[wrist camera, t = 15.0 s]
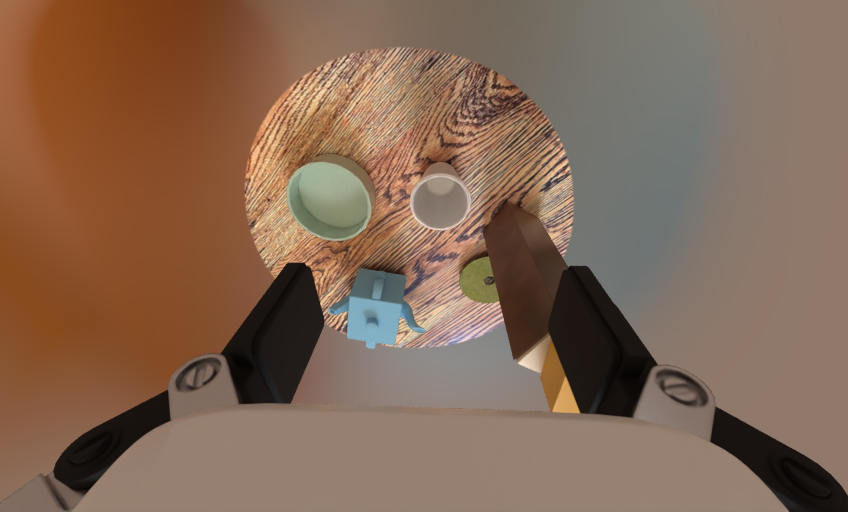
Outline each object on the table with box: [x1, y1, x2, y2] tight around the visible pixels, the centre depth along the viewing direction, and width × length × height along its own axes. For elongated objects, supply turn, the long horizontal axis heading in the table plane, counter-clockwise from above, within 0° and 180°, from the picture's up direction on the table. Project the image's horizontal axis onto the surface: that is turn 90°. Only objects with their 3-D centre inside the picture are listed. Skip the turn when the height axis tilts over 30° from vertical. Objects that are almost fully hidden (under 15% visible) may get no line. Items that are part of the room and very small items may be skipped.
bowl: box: [286, 154, 376, 241], centre depth 51 cm, size 13×13×4 cm
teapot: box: [329, 268, 426, 349], centre depth 59 cm, size 16×18×11 cm
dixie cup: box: [410, 162, 471, 230], centre depth 46 cm, size 8×8×10 cm
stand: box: [483, 200, 568, 373], centre depth 43 cm, size 7×7×28 cm
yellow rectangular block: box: [540, 340, 580, 413], centre depth 29 cm, size 6×4×4 cm, turn 1°
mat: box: [460, 257, 499, 303], centre depth 60 cm, size 11×11×2 cm
